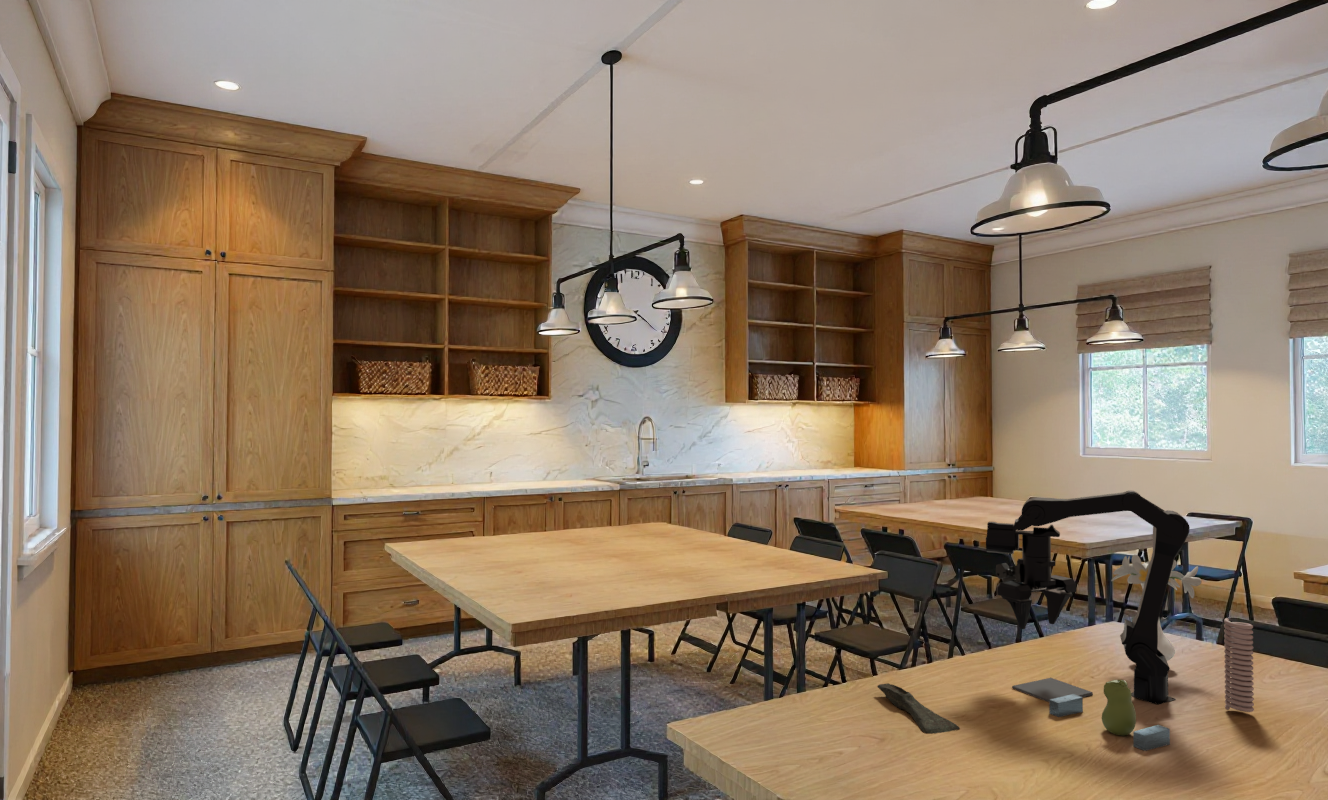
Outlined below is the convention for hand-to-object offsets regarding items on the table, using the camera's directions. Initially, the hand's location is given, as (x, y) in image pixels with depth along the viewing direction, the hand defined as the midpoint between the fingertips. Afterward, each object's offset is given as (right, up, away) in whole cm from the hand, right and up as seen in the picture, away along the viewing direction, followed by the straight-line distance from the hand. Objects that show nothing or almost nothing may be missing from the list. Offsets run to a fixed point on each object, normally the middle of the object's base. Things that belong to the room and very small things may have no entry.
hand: (1037, 626), depth 173 cm
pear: (+1, -12, -29) cm, 31 cm away
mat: (0, -12, -7) cm, 14 cm away
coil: (+32, -12, -18) cm, 38 cm away
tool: (-32, -13, -17) cm, 38 cm away
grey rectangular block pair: (0, -12, -27) cm, 29 cm away
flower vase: (+34, -12, +13) cm, 38 cm away
